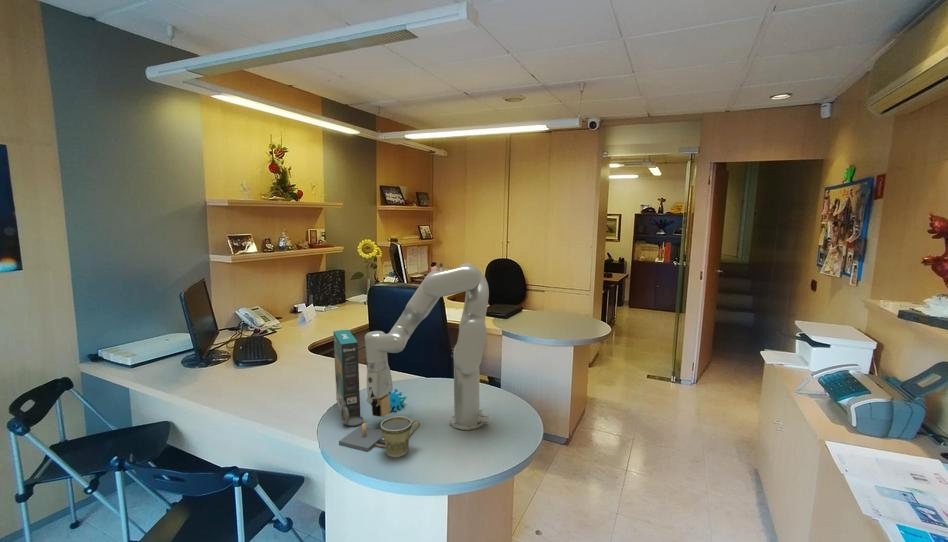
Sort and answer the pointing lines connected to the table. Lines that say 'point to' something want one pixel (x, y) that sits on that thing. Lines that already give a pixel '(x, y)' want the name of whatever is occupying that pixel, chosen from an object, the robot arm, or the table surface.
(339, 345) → the cake mix box
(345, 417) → the pocket watch
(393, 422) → the ceramic cup
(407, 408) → the table surface
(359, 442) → the junction plate
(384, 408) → the cube with round knob
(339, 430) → the table surface
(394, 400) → the gear
